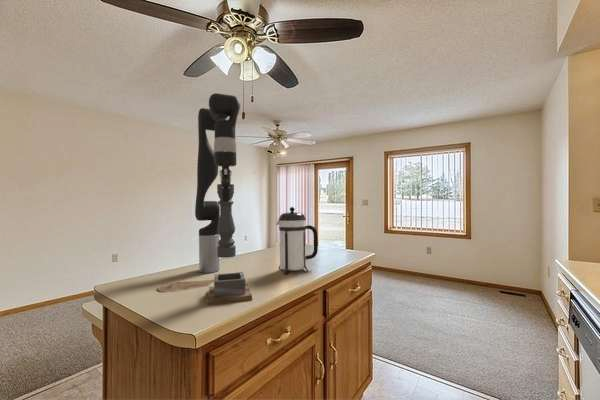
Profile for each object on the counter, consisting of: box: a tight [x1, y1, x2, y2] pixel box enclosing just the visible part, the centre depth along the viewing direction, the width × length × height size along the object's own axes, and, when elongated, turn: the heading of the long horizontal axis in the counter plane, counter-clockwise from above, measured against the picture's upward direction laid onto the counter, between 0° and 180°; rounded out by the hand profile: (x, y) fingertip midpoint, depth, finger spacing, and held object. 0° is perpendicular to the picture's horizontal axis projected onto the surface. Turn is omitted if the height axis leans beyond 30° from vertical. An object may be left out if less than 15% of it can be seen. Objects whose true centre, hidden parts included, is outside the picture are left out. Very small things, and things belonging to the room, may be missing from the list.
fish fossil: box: [156, 279, 214, 293], centre depth 109 cm, size 26×10×1 cm, turn 125°
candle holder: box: [216, 183, 237, 259], centre depth 96 cm, size 6×6×25 cm
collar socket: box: [207, 271, 253, 306], centre depth 96 cm, size 14×14×6 cm
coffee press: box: [275, 206, 319, 275], centre depth 130 cm, size 17×16×30 cm
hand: (225, 200), depth 96 cm, fingers closed on candle holder, 5 cm apart
